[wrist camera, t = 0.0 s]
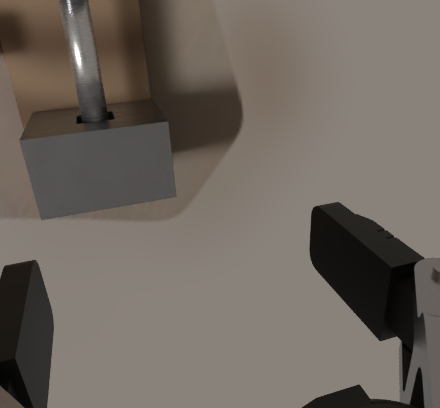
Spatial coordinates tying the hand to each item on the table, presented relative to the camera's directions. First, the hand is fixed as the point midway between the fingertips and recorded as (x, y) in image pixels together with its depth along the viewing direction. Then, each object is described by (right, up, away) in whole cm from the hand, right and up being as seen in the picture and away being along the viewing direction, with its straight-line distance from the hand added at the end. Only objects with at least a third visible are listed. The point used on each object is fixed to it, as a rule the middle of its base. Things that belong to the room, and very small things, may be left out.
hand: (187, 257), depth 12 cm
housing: (-10, +7, +25) cm, 28 cm away
